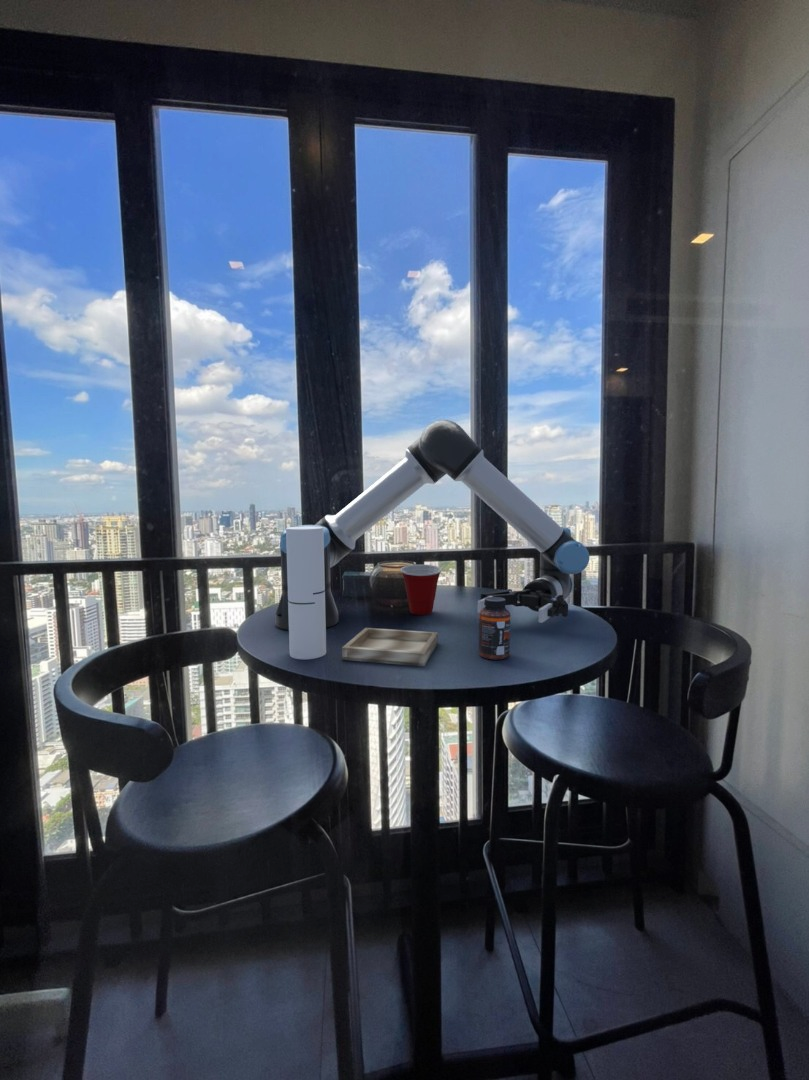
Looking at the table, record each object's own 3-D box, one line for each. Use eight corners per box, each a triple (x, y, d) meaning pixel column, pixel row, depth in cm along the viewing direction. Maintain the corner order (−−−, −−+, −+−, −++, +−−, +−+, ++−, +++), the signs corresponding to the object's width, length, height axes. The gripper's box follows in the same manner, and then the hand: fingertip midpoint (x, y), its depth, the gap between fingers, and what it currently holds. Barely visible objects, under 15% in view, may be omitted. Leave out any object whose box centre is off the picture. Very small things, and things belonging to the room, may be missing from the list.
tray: (342, 659, 95) (342, 647, 94) (365, 638, 108) (365, 627, 108) (424, 666, 91) (424, 653, 91) (437, 643, 104) (437, 632, 104)
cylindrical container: (333, 653, 99) (330, 527, 96) (303, 662, 93) (299, 530, 91) (312, 645, 104) (309, 526, 101) (282, 653, 98) (278, 528, 96)
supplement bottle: (509, 661, 93) (510, 602, 92) (477, 659, 94) (478, 601, 93) (509, 651, 99) (510, 595, 98) (479, 650, 100) (480, 594, 99)
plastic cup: (398, 617, 126) (398, 570, 124) (402, 607, 136) (401, 564, 135) (441, 618, 125) (441, 571, 124) (441, 608, 136) (441, 564, 134)
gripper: (594, 615, 115) (568, 638, 98) (494, 602, 129) (455, 620, 111) (595, 583, 114) (569, 601, 97) (494, 574, 128) (456, 587, 111)
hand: (508, 611), depth 104 cm, fingers open, 13 cm apart
